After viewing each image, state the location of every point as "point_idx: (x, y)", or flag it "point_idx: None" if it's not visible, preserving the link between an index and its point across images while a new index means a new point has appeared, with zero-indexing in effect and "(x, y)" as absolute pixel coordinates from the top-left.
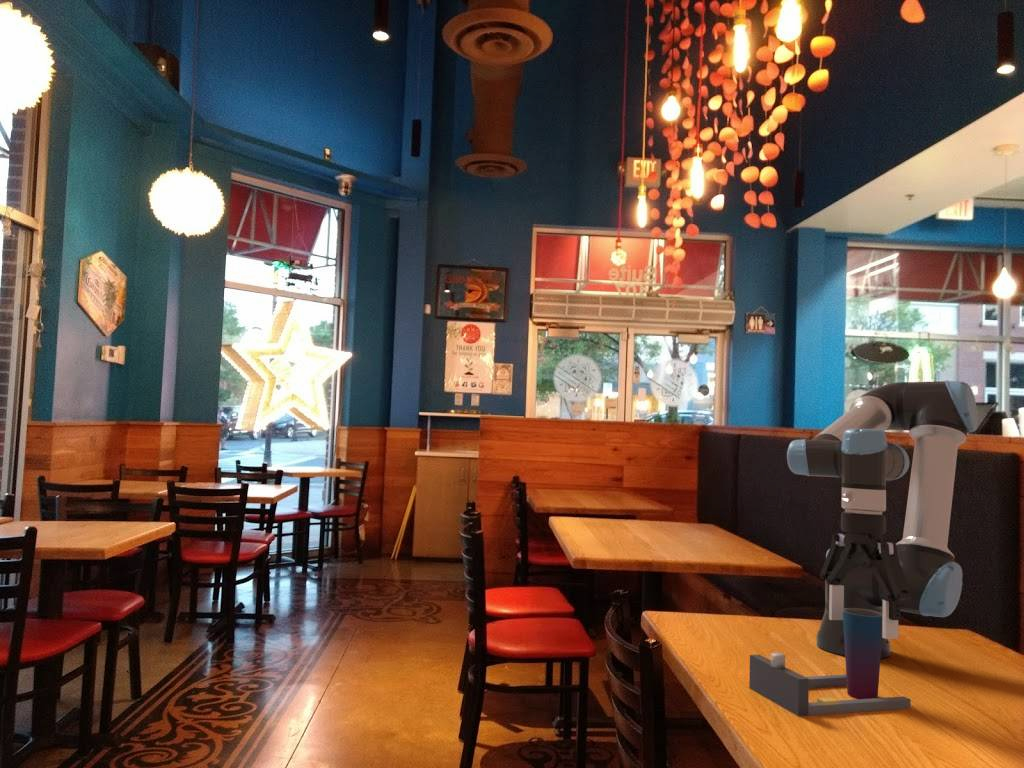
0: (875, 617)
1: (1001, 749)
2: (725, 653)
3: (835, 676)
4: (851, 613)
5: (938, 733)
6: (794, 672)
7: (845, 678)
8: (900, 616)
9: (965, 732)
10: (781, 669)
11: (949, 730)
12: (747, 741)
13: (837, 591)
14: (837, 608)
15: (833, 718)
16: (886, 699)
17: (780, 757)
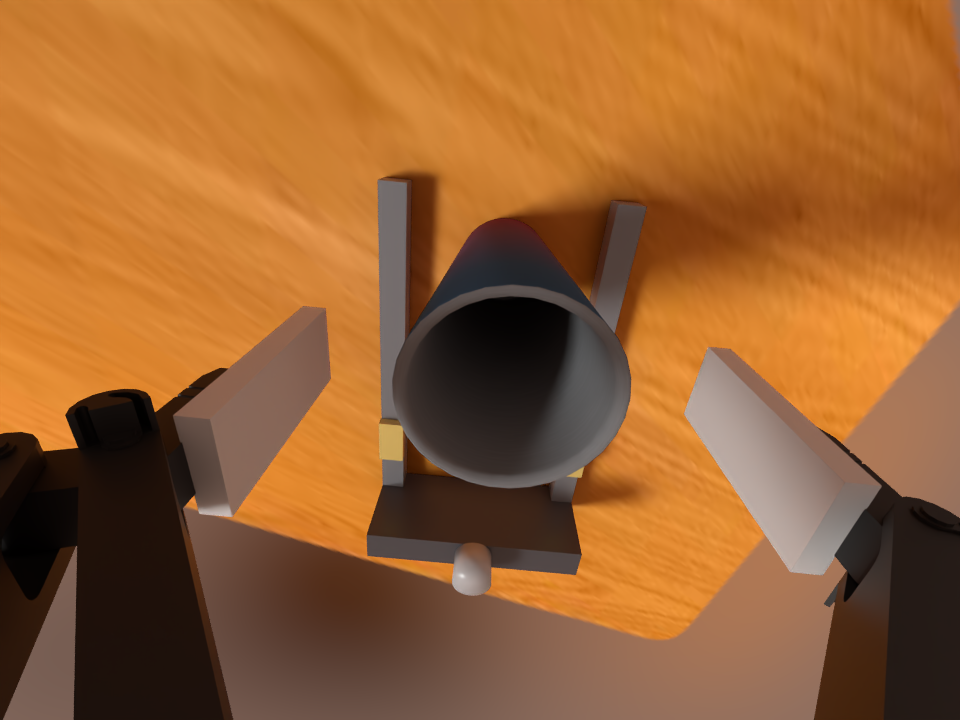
0: (624, 414)
1: (950, 231)
2: (83, 374)
3: (392, 270)
4: (412, 372)
5: (789, 300)
6: (529, 552)
7: (406, 241)
8: (838, 441)
9: (835, 215)
10: (499, 563)
11: (798, 249)
12: (616, 627)
13: (250, 445)
14: (302, 376)
15: (601, 454)
16: (614, 290)
17: (683, 623)
